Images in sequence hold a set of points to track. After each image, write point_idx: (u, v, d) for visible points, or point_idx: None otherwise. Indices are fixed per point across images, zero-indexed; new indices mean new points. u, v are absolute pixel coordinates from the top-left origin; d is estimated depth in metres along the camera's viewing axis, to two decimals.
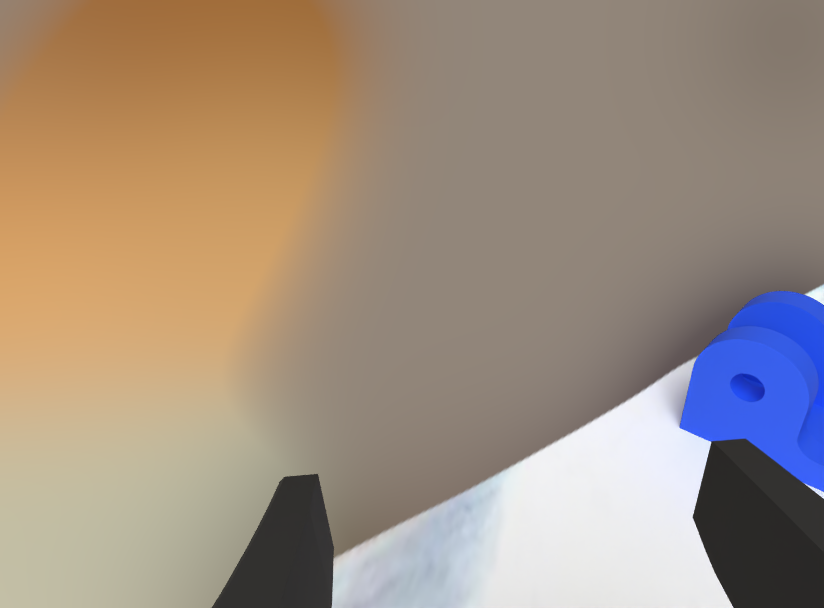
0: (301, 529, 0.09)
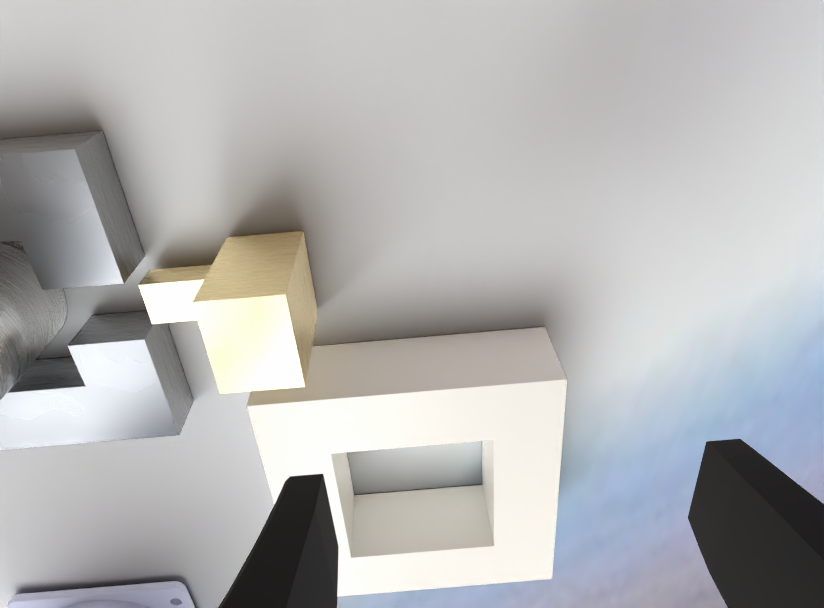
0: (307, 528, 0.09)
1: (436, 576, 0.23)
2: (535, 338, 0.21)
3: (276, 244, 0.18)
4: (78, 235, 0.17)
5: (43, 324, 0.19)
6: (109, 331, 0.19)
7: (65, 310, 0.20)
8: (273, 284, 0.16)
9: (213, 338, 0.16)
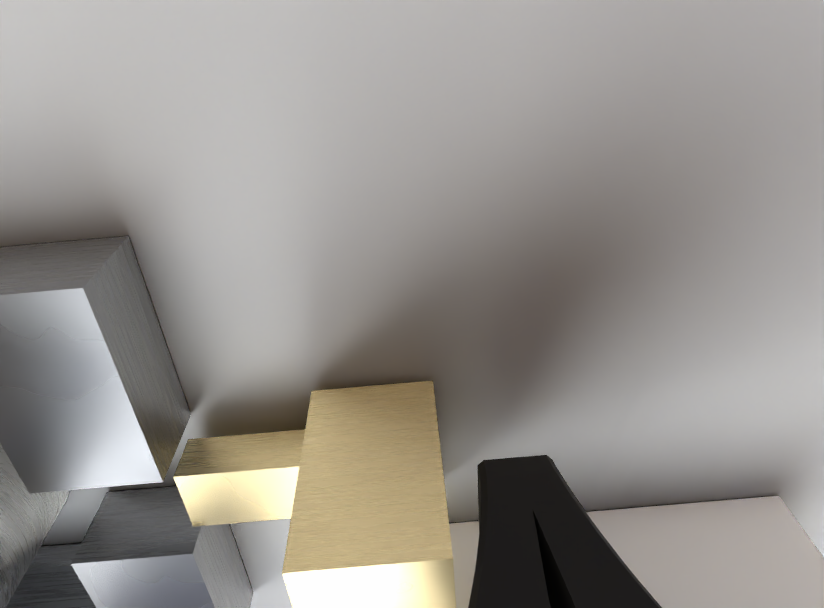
0: (531, 509, 0.09)
1: None
2: (774, 520, 0.14)
3: (397, 412, 0.11)
4: (88, 417, 0.10)
5: (32, 531, 0.12)
6: (136, 530, 0.12)
7: None
8: (422, 525, 0.09)
9: None
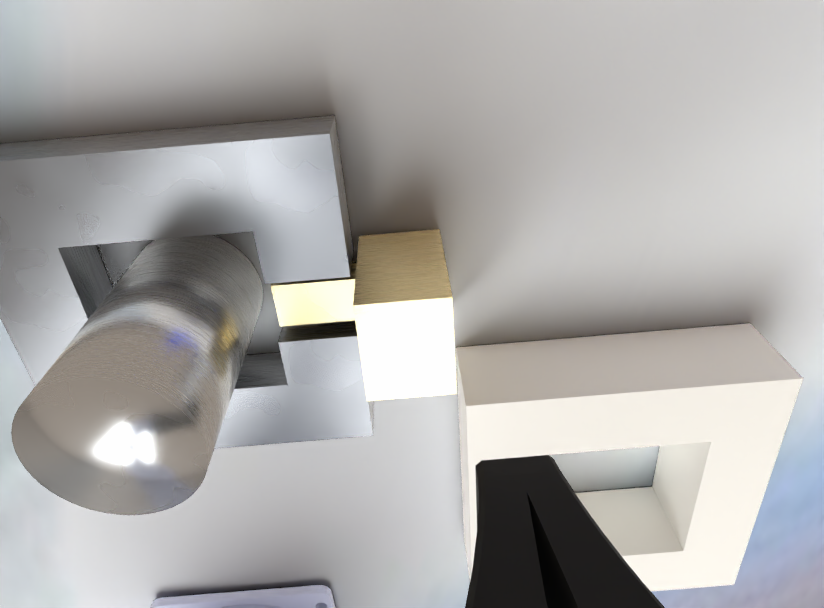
0: (528, 510, 0.09)
1: None
2: (746, 335, 0.20)
3: (416, 243, 0.17)
4: (313, 226, 0.16)
5: (253, 320, 0.18)
6: (315, 327, 0.18)
7: (261, 305, 0.19)
8: (434, 286, 0.15)
9: (369, 343, 0.15)
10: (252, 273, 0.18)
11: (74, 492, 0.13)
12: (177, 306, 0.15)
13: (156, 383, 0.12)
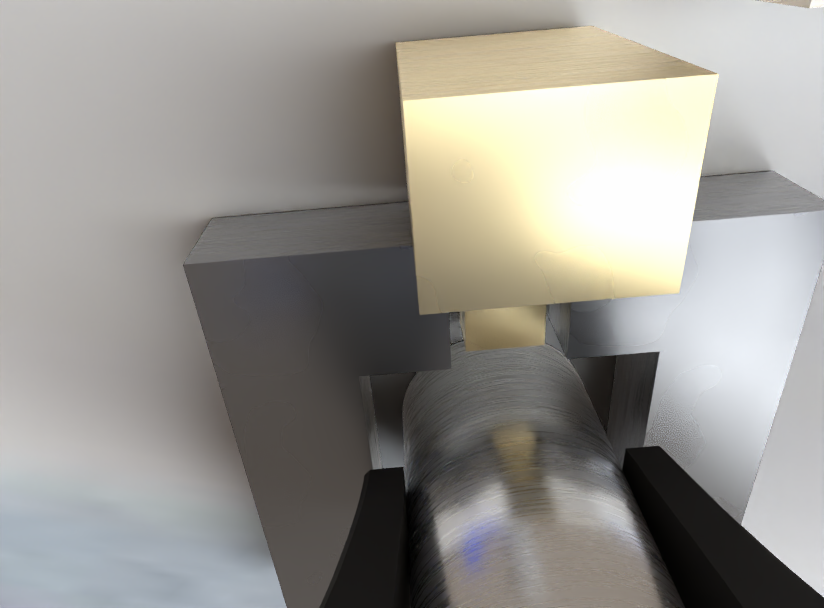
0: (400, 521, 0.09)
1: None
2: None
3: None
4: (347, 295, 0.10)
5: (524, 381, 0.11)
6: None
7: None
8: (403, 127, 0.06)
9: (518, 285, 0.07)
10: (464, 351, 0.12)
11: None
12: (421, 539, 0.09)
13: None
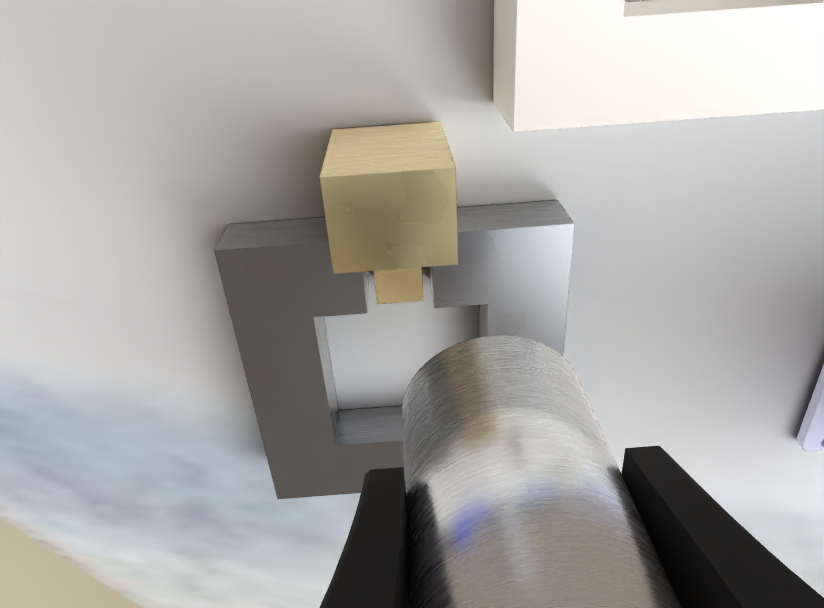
0: (400, 521, 0.09)
1: None
2: None
3: None
4: (305, 268, 0.17)
5: (525, 382, 0.11)
6: None
7: (527, 341, 0.12)
8: None
9: (380, 259, 0.14)
10: (466, 352, 0.12)
11: None
12: (422, 538, 0.09)
13: None
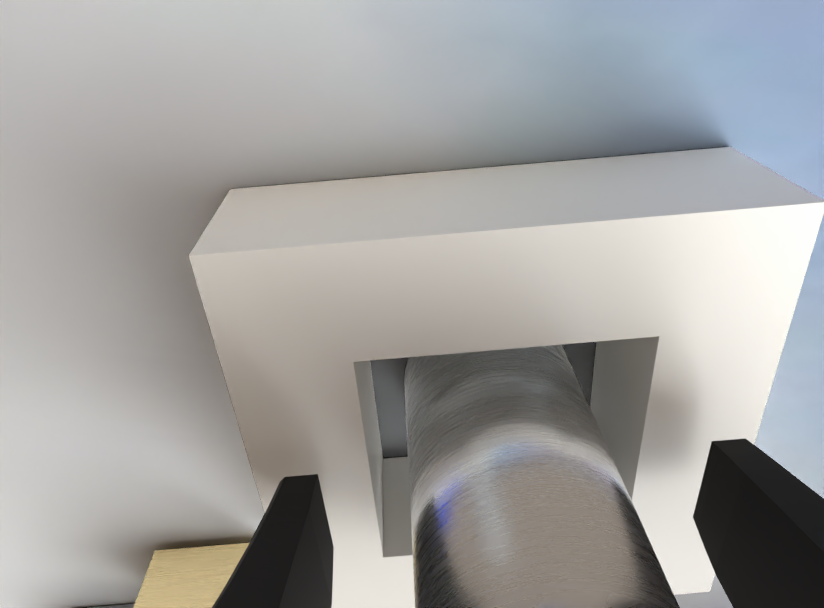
0: (301, 529, 0.09)
1: (722, 425, 0.12)
2: None
3: None
4: None
5: (526, 349, 0.12)
6: None
7: None
8: None
9: None
10: None
11: None
12: (431, 468, 0.11)
13: (464, 602, 0.08)
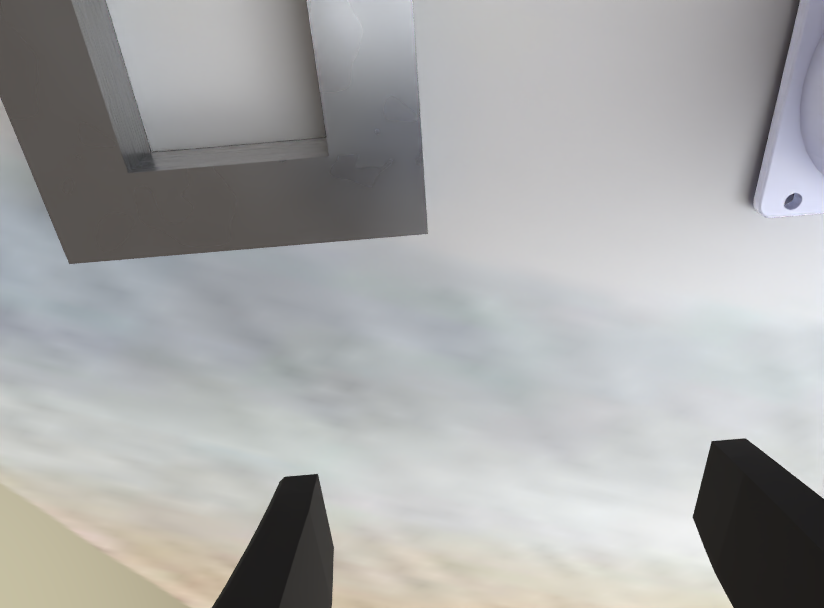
0: (301, 529, 0.09)
1: None
2: None
3: None
4: None
5: None
6: None
7: None
8: None
9: None
10: None
11: None
12: None
13: None
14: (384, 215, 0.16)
